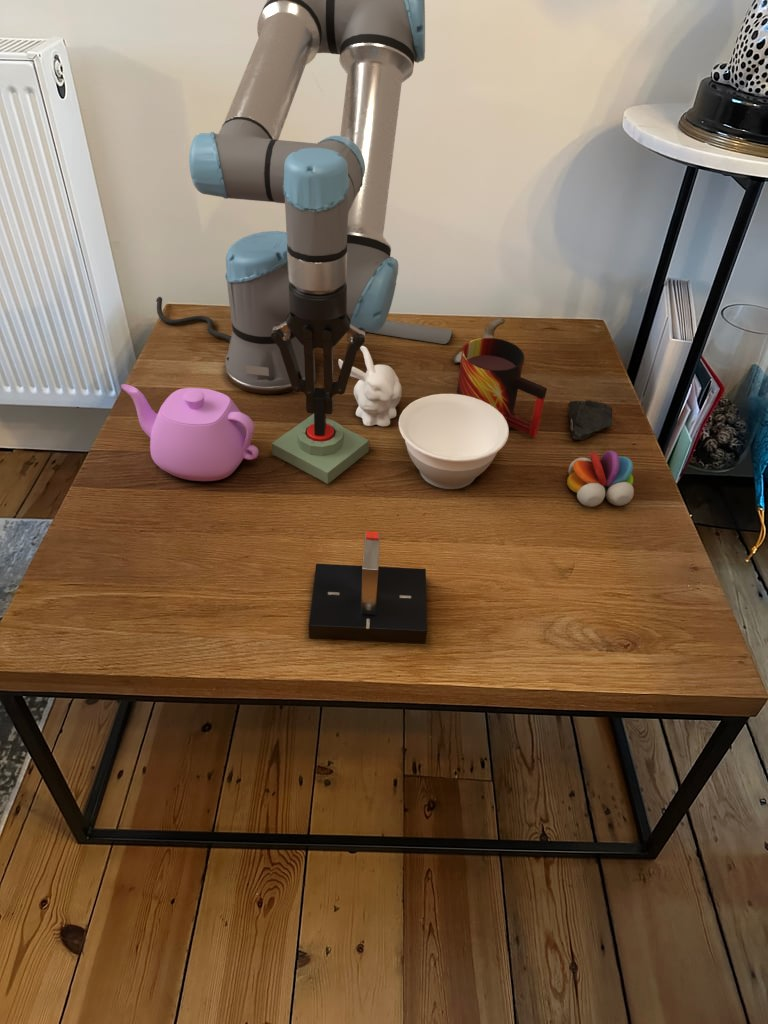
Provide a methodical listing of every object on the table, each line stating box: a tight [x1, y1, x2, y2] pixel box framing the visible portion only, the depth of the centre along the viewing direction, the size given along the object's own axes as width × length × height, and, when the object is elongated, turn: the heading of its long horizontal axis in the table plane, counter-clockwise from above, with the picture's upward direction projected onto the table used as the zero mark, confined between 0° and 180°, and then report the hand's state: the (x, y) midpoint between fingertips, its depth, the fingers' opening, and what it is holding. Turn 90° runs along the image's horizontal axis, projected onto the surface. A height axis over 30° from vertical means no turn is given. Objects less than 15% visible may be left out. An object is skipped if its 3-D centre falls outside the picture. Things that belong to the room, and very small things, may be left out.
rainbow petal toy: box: [566, 450, 635, 508], centre depth 111 cm, size 8×10×7 cm
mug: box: [456, 337, 548, 438], centre depth 122 cm, size 10×14×12 cm
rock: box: [567, 399, 614, 441], centre depth 123 cm, size 9×7×5 cm
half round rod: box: [366, 319, 453, 345], centre depth 144 cm, size 4×20×2 cm, turn 77°
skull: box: [453, 317, 506, 364], centre depth 137 cm, size 10×12×6 cm
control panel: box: [308, 563, 428, 644], centre depth 94 cm, size 14×10×3 cm
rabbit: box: [338, 345, 402, 427], centre depth 122 cm, size 12×9×12 cm
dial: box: [361, 531, 381, 615], centre depth 91 cm, size 6×2×8 cm, turn 178°
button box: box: [271, 413, 370, 485], centre depth 116 cm, size 11×10×4 cm
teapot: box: [120, 383, 259, 482], centre depth 111 cm, size 20×13×12 cm, turn 78°
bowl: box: [397, 393, 510, 490], centre depth 113 cm, size 16×16×9 cm
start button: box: [307, 424, 334, 442], centre depth 115 cm, size 4×4×2 cm
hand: (320, 429), depth 114 cm, fingers closed
